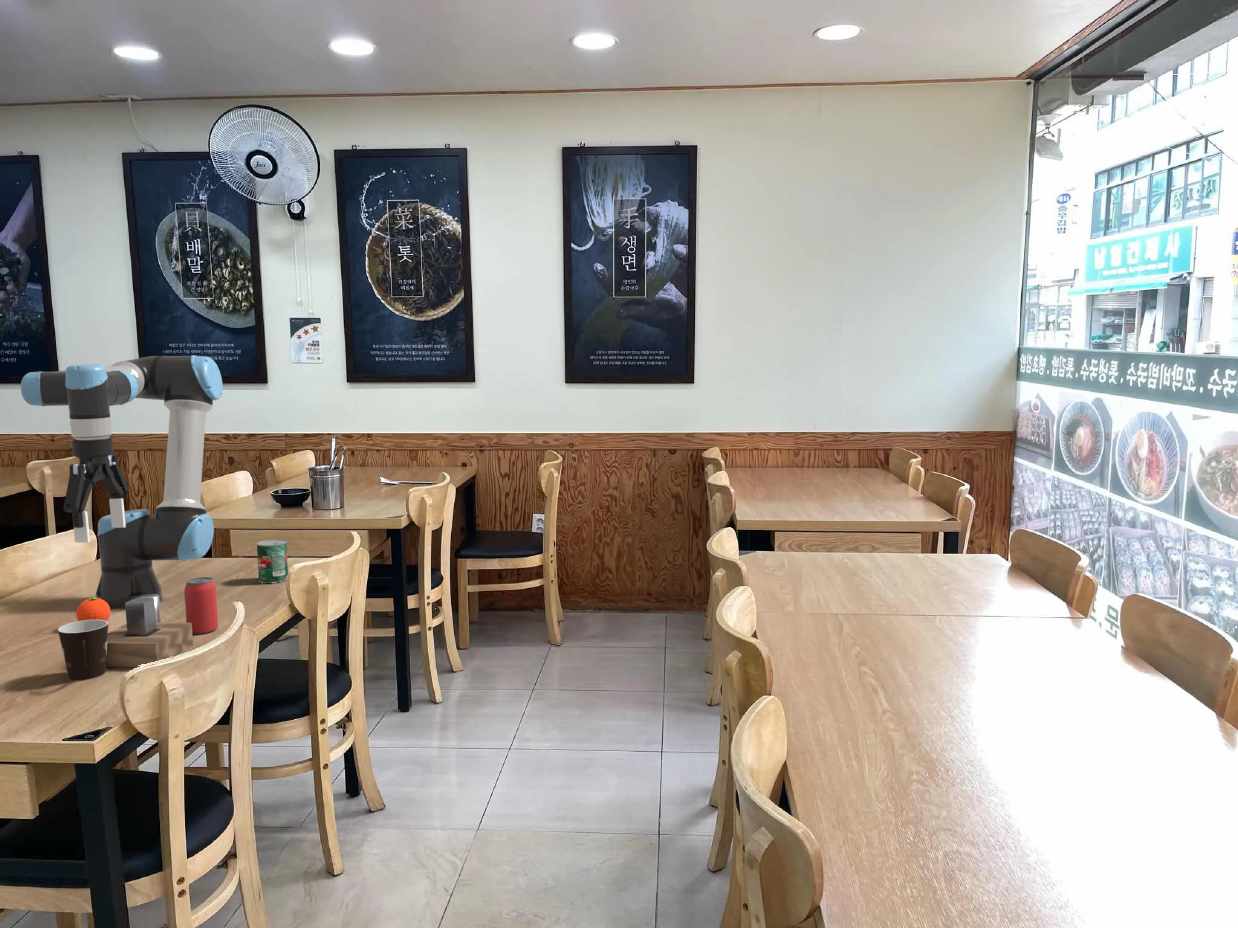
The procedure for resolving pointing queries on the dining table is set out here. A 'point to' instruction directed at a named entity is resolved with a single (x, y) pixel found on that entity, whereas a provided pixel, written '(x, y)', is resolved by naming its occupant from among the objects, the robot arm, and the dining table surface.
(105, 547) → the robot arm
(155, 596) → the cylinder
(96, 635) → the coffee mug
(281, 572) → the canned tomato
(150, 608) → the square bit
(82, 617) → the clementine
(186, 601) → the beer can
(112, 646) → the socket block
